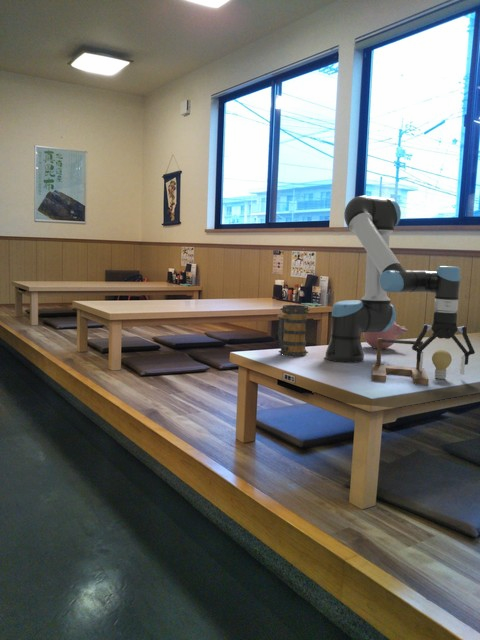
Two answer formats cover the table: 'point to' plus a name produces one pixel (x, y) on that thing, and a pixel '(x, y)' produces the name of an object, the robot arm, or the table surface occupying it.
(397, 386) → the table surface
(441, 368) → the light bulb
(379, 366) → the wooden rack frame
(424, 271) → the robot arm
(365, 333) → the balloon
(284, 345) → the mug
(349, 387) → the table surface
